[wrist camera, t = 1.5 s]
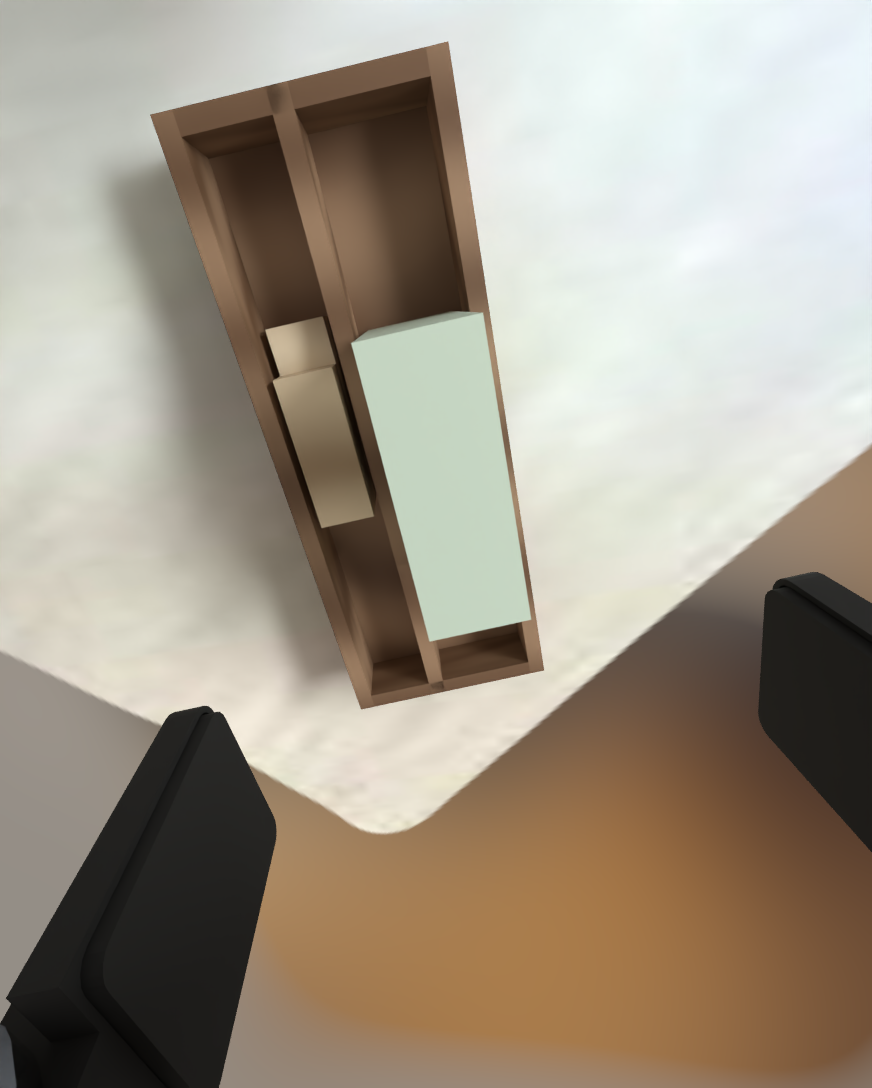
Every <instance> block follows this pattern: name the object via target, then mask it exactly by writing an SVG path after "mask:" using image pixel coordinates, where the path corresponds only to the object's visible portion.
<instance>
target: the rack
mask: <svg viewBox="0 0 872 1088" xmlns="http://www.w3.org/2000/svg"><path fill="white" fill-rule="evenodd" d="M150 116H151V118H152V121H153V124H154V127H155V130H156V133H157V135H158V138H159V141H160V144H161V147H162V149H163V152H164V155H165V158H166V161H167V164H168V166H169V169H170V172H171V175H172V178H173V180H174V183H175V186H176V189H177V192H178V195H179V197H180V200H181V203H182V206H183V209H184V211H185V214H186V217H187V220H188V223H189V226H190V228H191V231H192V234H193V237H194V240H195V242H196V245H197V248H198V251H199V254H200V257H201V259H202V262H203V265H204V268H205V271H206V273H207V276H208V279H209V282H210V285H211V287H212V290H213V293H214V296H215V299H216V302H217V304H218V307H219V310H220V313H221V316H222V318H223V321H224V324H225V327H226V330H227V333H228V335H229V338H230V341H231V344H232V347H233V349H234V352H235V355H236V358H237V361H238V364H239V366H240V369H241V372H242V375H243V378H244V380H245V383H246V386H247V389H248V392H249V395H250V397H251V400H252V403H253V406H254V409H255V411H256V414H257V417H258V420H259V423H260V426H261V428H262V431H263V434H264V437H265V440H266V442H267V445H268V448H269V451H270V454H271V457H272V459H273V462H274V465H275V468H276V471H277V473H278V476H279V479H280V482H281V485H282V488H283V490H284V493H285V496H286V499H287V502H288V504H289V507H290V510H291V513H292V516H293V519H294V521H295V524H296V527H297V530H298V533H299V535H300V538H301V541H302V544H303V547H304V550H305V552H306V555H307V558H308V561H309V564H310V566H311V569H312V572H313V575H314V578H315V581H316V583H317V586H318V589H319V592H320V595H321V597H322V600H323V603H324V606H325V609H326V612H327V614H328V617H329V620H330V623H331V626H332V628H333V631H334V634H335V637H336V640H337V643H338V645H339V648H340V651H341V654H342V657H343V659H344V662H345V665H346V668H347V671H348V674H349V676H350V679H351V682H352V685H353V688H354V690H355V693H356V696H357V699H358V702H359V705H360V707H361V709H365V708H370V707H374V706H379V705H384V704H388V703H393V702H398V701H403V700H407V699H412V698H417V697H421V696H426V695H431V694H435V693H440V692H445V691H449V690H454V689H459V688H463V687H468V686H473V685H477V684H482V683H487V682H491V681H496V680H501V679H506V678H510V677H515V676H520V675H524V674H529V673H534V672H538V671H543V670H544V667H543V660H542V654H541V647H540V641H539V634H538V627H537V621H536V614H535V608H534V601H533V595H532V588H531V581H530V575H529V568H528V562H527V555H526V549H525V542H524V536H523V529H522V522H521V516H520V509H519V503H518V496H517V490H516V483H515V476H514V470H513V463H512V457H511V450H510V444H509V437H508V431H507V424H506V417H505V411H504V404H503V398H502V391H501V385H500V378H499V371H498V365H497V358H496V352H495V345H494V339H493V332H492V325H491V319H490V312H489V306H488V299H487V293H486V286H485V280H484V273H483V266H482V260H481V253H480V247H479V240H478V234H477V227H476V220H475V214H474V207H473V201H472V194H471V188H470V181H469V175H468V168H467V161H466V155H465V148H464V142H463V135H462V129H461V122H460V115H459V109H458V102H457V96H456V89H455V83H454V76H453V70H452V63H451V56H450V50H449V43H448V42H444V43H440V44H436V45H432V46H428V47H424V48H420V49H416V50H412V51H408V52H404V53H399V54H395V55H391V56H387V57H383V58H379V59H375V60H371V61H367V62H363V63H359V64H355V65H351V66H347V67H343V68H339V69H334V70H330V71H326V72H322V73H318V74H314V75H310V76H306V77H302V78H298V79H294V80H290V81H286V82H282V83H278V84H273V85H269V86H265V87H261V88H257V89H253V90H249V91H245V92H241V93H237V94H233V95H229V96H225V97H221V98H217V99H213V100H208V101H204V102H200V103H196V104H192V105H188V106H184V107H180V108H176V109H172V110H168V111H164V112H160V113H156V114H152V115H150ZM449 311H460V312H481V313H483V316H484V322H485V329H486V335H487V341H488V348H489V354H490V360H491V367H492V373H493V380H494V386H495V392H496V399H497V405H498V411H499V418H500V424H501V430H502V437H503V443H504V449H505V456H506V462H507V469H508V475H509V481H510V488H511V494H512V500H513V507H514V513H515V519H516V526H517V532H518V538H519V545H520V551H521V558H522V564H523V570H524V577H525V583H526V589H527V596H528V602H529V608H530V615H531V620H527V621H523V622H518V623H514V624H509V625H504V626H500V627H495V628H490V629H486V630H481V631H477V632H472V633H467V634H463V635H458V636H453V637H449V638H444V639H440V640H435V641H429V638H428V634H427V630H426V626H425V622H424V618H423V615H422V611H421V607H420V603H419V599H418V596H417V592H416V588H415V584H414V580H413V577H412V573H411V569H410V565H409V561H408V558H407V554H406V550H405V546H404V542H403V538H402V535H401V531H400V527H399V523H398V519H397V516H396V512H395V508H394V504H393V500H392V497H391V493H390V489H389V485H388V481H387V478H386V474H385V470H384V466H383V462H382V458H381V455H380V451H379V447H378V443H377V439H376V436H375V432H374V428H373V424H372V420H371V417H370V413H369V409H368V405H367V401H366V398H365V394H364V390H363V386H362V382H361V378H360V375H359V371H358V367H357V363H356V359H355V356H354V352H353V348H352V344H351V343H352V342H353V341H355V340H356V339H357V338H359V337H360V336H361V335H363V334H364V333H365V332H367V331H368V330H372V329H376V328H380V327H385V326H389V325H393V324H398V323H402V322H406V321H411V320H415V319H419V318H423V317H428V316H432V315H436V314H441V313H445V312H449ZM322 316H327V317H328V321H329V324H330V328H331V331H332V335H333V339H334V342H335V346H336V350H337V353H338V357H339V361H340V364H341V368H342V371H343V375H344V379H345V382H346V386H347V390H348V393H349V397H350V401H351V404H352V408H353V411H354V415H355V419H356V422H357V426H358V430H359V433H360V437H361V440H362V444H363V448H364V451H365V455H366V459H367V462H368V466H369V470H370V473H371V477H372V480H373V484H374V488H375V491H376V503H375V512H374V517H369V518H365V519H360V520H356V521H351V522H347V523H342V524H338V525H333V526H329V527H324V528H321V525H320V522H319V519H318V516H317V513H316V510H315V507H314V504H313V501H312V498H311V495H310V492H309V489H308V486H307V483H306V480H305V477H304V474H303V471H302V468H301V465H300V462H299V459H298V456H297V453H296V450H295V447H294V444H293V441H292V438H291V435H290V432H289V429H288V426H287V423H286V420H285V417H284V414H283V411H282V408H281V405H280V402H279V399H278V396H277V393H276V390H275V387H274V384H273V380H275V379H276V378H278V377H280V374H279V371H278V368H277V365H276V362H275V359H274V355H273V352H272V349H271V346H270V343H269V340H268V337H267V334H266V331H265V330H266V329H271V328H275V327H279V326H283V325H288V324H292V323H296V322H301V321H305V320H309V319H313V318H318V317H322Z"/></svg>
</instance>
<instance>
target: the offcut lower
mask: <svg viewBox="0 0 872 1088" xmlns="http://www.w3.org/2000/svg"><path fill="white" fill-rule="evenodd" d="M265 331H266V334H267V337H268V340H269V343H270V346H271V349H272V352H273V355H274V359H275V362H276V365H277V368H278V371H279V374H280V376H284V375H288V374H292V373H297V372H301V371H305V370H310V369H314V368H318V367H323V366H327V365H331V364H336V366H337V369H338V373H339V377H340V380H341V384H342V387H343V391H344V395H345V398H346V402H347V405H348V409H349V413H350V416H351V420H352V423H353V427H354V430H355V434H356V438H357V441H358V445H359V448H360V452H361V456H362V459H363V463H364V466H365V470H366V473H367V477H368V481H369V484H370V488H371V491H372V495H373V499H374V502H375V503H376V491H375V488H374V484H373V480H372V477H371V473H370V470H369V466H368V462H367V459H366V455H365V451H364V448H363V444H362V440H361V437H360V433H359V430H358V426H357V422H356V419H355V415H354V411H353V408H352V404H351V401H350V397H349V393H348V390H347V386H346V382H345V379H344V375H343V371H342V368H341V364H340V361H339V357H338V353H337V350H336V346H335V342H334V339H333V335H332V331H331V328H330V324H329V321H328V317H327V316H322V317H318V318H313V319H309V320H305V321H301V322H296V323H292V324H288V325H283V326H279V327H275V328H271V329H266V330H265Z"/></svg>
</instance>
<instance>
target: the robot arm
mask: <svg viewBox="0 0 872 1088" xmlns="http://www.w3.org/2000/svg"><path fill="white" fill-rule="evenodd" d="M764 606H765V607H764V622H763V640H762V657H761V674H760V676H761V677H760V692H759V709H758V712H759V713H758V714H759V720H760V723H761V725H762V727H763V729H764V731H765V732H766V734H767V735H768V736H769V738H770V739H771V740H772V741H773V742H774V743H775V744H776V745H777V746H778V748H779V749H780V750H781V751H782V752H783V753H784V754H785V755H786V757H787V758H788V759H789V760H790V761H791V762H792V763H793V764H794V766H796V768H797V769H798V770H799V771H800V772H801V773H802V774H803V776H804V777H805V778H806V779H807V780H808V781H809V782H810V783H811V785H812V786H813V787H814V788H815V789H816V790H817V791H818V792H819V793H820V795H821V796H822V797H823V798H824V799H825V800H826V801H827V803H829V805H830V806H831V807H832V808H833V809H834V810H835V812H836V813H837V814H838V815H839V816H840V817H841V818H842V819H843V820H844V822H845V823H846V824H847V825H848V826H849V827H850V828H851V829H852V830H853V832H854V833H855V834H856V835H857V836H858V837H859V838H860V840H861V841H862V842H863V843H864V844H865V845H866V846H867V847H868V849H869V850H870V851H871V852H872V603H870V602H868V601H867V600H865V599H864V598H862V597H860V596H859V595H857V594H855V593H853V592H852V591H850V590H848V589H847V588H845V587H843V586H842V585H840V584H838V583H837V582H835V581H833V580H832V579H830V578H828V577H827V576H825V575H823V574H821V573H818V572H810V573H806V574H802V575H797V576H792V577H788V578H783V579H780V580H778V581H776V582H775V584H774V586H773V590H770V591H769V592H767V594H766V596H765V605H764ZM275 842H276V823H275V819H274V816H273V814H272V812H271V810H270V808H269V806H268V804H267V802H266V800H265V798H264V796H263V794H262V792H261V790H260V788H259V786H258V784H257V782H256V780H255V778H254V775H253V773H252V771H251V769H250V767H249V765H248V763H247V761H246V759H245V757H244V755H243V753H242V751H241V749H240V747H239V745H238V743H237V741H236V739H235V737H234V735H233V733H232V731H231V729H230V727H229V725H228V723H227V721H226V719H225V717H224V715H223V714H222V713H221V712H214V711H213V710H212V709H211V708H210V707H208V706H201V707H197V708H192V709H187V710H183V711H178V712H174V713H172V714H170V715H169V716H168V717H167V719H166V720H165V722H164V723H163V725H162V727H161V729H160V731H159V732H158V734H157V736H156V737H155V739H154V741H153V743H152V744H151V746H150V748H149V750H148V751H147V753H146V755H145V757H144V758H143V760H142V762H141V764H140V765H139V767H138V769H137V771H136V772H135V774H134V776H133V778H132V780H131V781H130V783H129V785H128V786H127V788H126V790H125V792H124V793H123V795H122V797H121V799H120V800H119V802H118V804H117V806H116V807H115V809H114V811H113V813H112V814H111V816H110V818H109V819H108V822H107V823H106V825H105V827H104V828H103V830H102V832H101V833H100V835H99V837H98V839H97V841H96V842H95V844H94V846H93V847H92V849H91V851H90V853H89V855H88V856H87V858H86V860H85V861H84V863H83V865H82V867H81V868H80V870H79V872H78V873H77V875H76V877H75V879H74V880H73V882H72V884H71V886H70V887H69V889H68V891H67V893H66V895H65V896H64V898H63V900H62V901H61V903H60V905H59V907H58V908H57V910H56V912H55V914H54V915H53V917H52V919H51V921H50V922H49V924H48V926H47V928H46V929H45V931H44V933H43V935H42V936H41V938H40V940H39V942H38V943H37V945H36V947H35V949H34V951H33V952H32V954H31V955H30V957H29V959H28V961H27V963H26V964H25V966H24V968H23V969H22V971H21V973H20V975H19V976H18V978H17V980H16V982H15V983H14V985H13V987H12V989H11V990H10V992H9V994H8V996H7V997H6V999H7V1000H8V1001H9V1002H10V1003H11V1005H10V1007H9V1009H8V1011H7V1012H6V1014H5V1016H4V1018H3V1020H2V1021H1V1023H0V1088H219V1085H220V1081H221V1077H222V1073H223V1069H224V1064H225V1060H226V1055H227V1051H228V1047H229V1042H230V1038H231V1034H232V1029H233V1025H234V1021H235V1016H236V1012H237V1008H238V1003H239V999H240V995H241V990H242V986H243V981H244V977H245V973H246V968H247V964H248V959H249V955H250V951H251V946H252V942H253V938H254V933H255V929H256V924H257V920H258V916H259V912H260V907H261V903H262V898H263V894H264V890H265V886H266V881H267V877H268V872H269V867H270V864H271V859H272V855H273V850H274V846H275Z"/></svg>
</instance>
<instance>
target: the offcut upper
mask: <svg viewBox="0 0 872 1088" xmlns="http://www.w3.org/2000/svg"><path fill="white" fill-rule="evenodd" d="M273 384H274V387H275V390H276V393H277V396H278V399H279V402H280V405H281V408H282V411H283V414H284V417H285V420H286V423H287V426H288V429H289V432H290V435H291V438H292V441H293V444H294V447H295V450H296V453H297V456H298V459H299V462H300V465H301V468H302V471H303V474H304V477H305V480H306V483H307V486H308V489H309V492H310V495H311V498H312V501H313V504H314V507H315V510H316V513H317V516H318V519H319V522H320V525H321V528H324V527H329V526H333V525H338V524H342V523H347V522H351V521H356V520H360V519H365V518H369V517H374V512H375V502H374V499H373V495H372V491H371V488H370V484H369V481H368V477H367V473H366V470H365V466H364V463H363V459H362V456H361V452H360V448H359V445H358V441H357V438H356V434H355V430H354V427H353V423H352V420H351V416H350V413H349V409H348V405H347V402H346V398H345V395H344V391H343V387H342V384H341V380H340V377H339V373H338V369H337V366H336V364H331V365H327V366H323V367H318V368H314V369H310V370H305V371H301V372H297V373H292V374H288V375H284V376H280V377H278V378H276V379H275V380H273Z"/></svg>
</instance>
